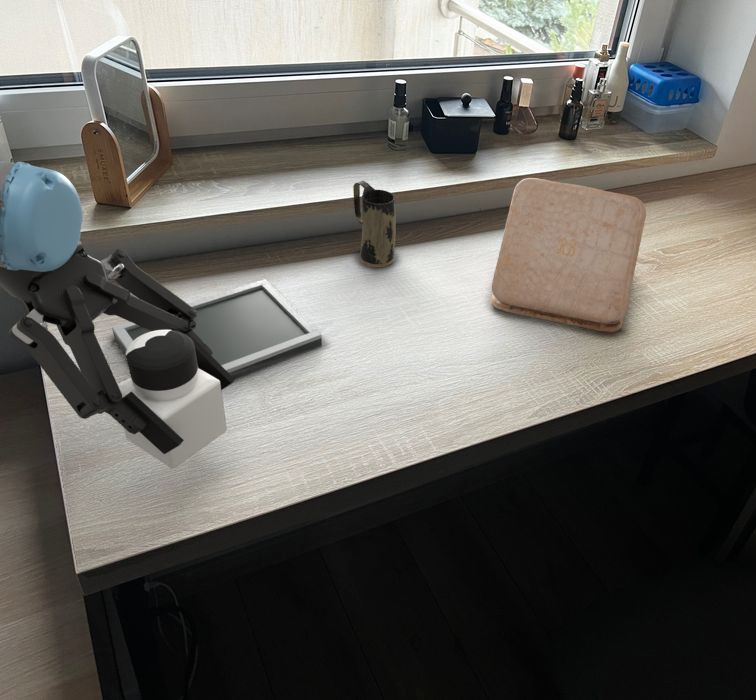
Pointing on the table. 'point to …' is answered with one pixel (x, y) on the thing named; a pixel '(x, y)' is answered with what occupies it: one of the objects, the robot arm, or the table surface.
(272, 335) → the chalkboard
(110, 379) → the robot arm
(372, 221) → the mug
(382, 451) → the table surface
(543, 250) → the case
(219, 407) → the medicine bottle
